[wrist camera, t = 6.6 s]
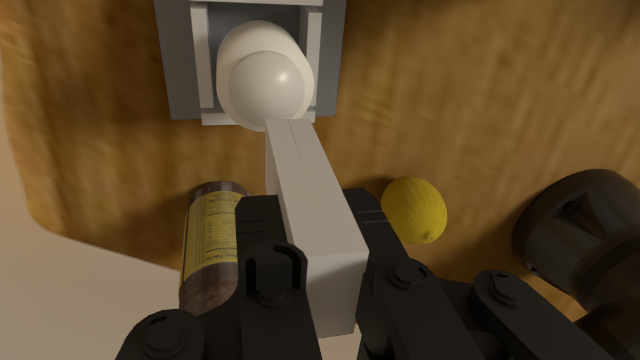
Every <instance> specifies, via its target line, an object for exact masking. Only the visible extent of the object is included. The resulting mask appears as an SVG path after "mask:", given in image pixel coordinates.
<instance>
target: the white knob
mask: <svg viewBox="0 0 640 360" xmlns="http://www.w3.org/2000/svg"><path fill="white" fill-rule="evenodd" d="M216 90H217V95H218V99H219V102H220V104H221V106H222V108H223V110H224V111H225V112H226V114H227V115H228V116H229V117H230V118H231V119H232V120H233V121H234V122H236V123H237V124H239V125H240V126H242V127H244V128H247V129H249V130H253V131H258V132H265V120H266V119H300V118H301V117H302V115H303V114H304V113H305V112H306V110H307V109H308V107H309V105H310V103H311V100H312V97H313V93H314V77H313V73H312V69H311V67H310V65H309V63H308V61H307V60H306V58H305V56H304V55H303V53H302V51H301V50H300V48H299V47H298V45H297V43H296V42H295V40H294V39H293V37H292V36H291V35H290V34H289V33H288V32H287V31H286V30H285V29H283V28H282V27H280V26H279V25H277V24H274V23H272V22H268V21H263V20H253V21H248V22H244V23H242V24H240V25H238V26H236V27H234V28H233V29H232V30H231V31H230V32H228V33H227V35H226V36H225V37H224V39H223V40H222V42H221V44H220V46H219V49H218V53H217V71H216Z"/></svg>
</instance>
